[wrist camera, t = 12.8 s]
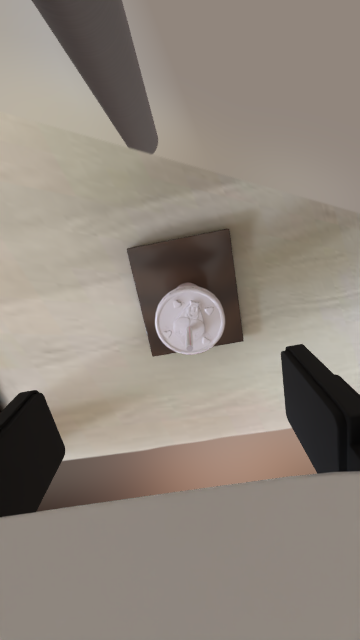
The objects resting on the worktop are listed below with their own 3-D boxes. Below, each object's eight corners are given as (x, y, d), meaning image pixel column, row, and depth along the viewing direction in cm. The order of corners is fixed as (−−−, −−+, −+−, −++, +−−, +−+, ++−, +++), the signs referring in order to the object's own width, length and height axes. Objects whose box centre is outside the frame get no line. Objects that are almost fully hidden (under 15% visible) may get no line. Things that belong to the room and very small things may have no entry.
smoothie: (157, 317, 35) (142, 371, 21) (166, 266, 33) (156, 291, 19) (207, 326, 35) (222, 386, 22) (219, 277, 33) (244, 309, 20)
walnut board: (128, 248, 34) (126, 249, 32) (227, 228, 33) (229, 228, 31) (153, 351, 38) (152, 356, 36) (241, 337, 37) (243, 341, 36)
